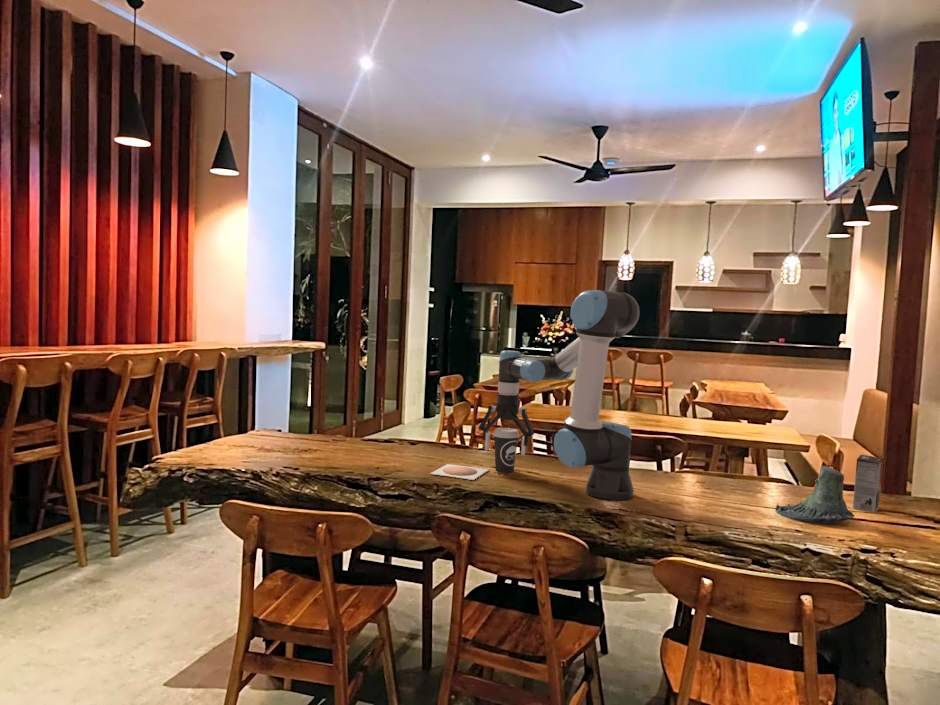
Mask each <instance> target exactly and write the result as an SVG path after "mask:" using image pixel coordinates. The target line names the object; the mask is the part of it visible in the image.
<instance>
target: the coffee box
mask: <svg viewBox="0 0 940 705" xmlns="http://www.w3.org/2000/svg"><path fill="white" fill-rule="evenodd" d="M883 463H884V458H883V457H877V456H872V455H865V454H860V455H859V456H858V457H857V458H856V464H855V465H856V466H855V467H856V468H855V479H854V488H853V490H854V491H853V500H852V510H857V511H860V512H861V511H862V512H867V513H872V514H876V513H877V511H878V509H879V508H880V506H881V505H880V504H881V492H882V491H881V490H882V476H883V467H884V466H883Z"/></svg>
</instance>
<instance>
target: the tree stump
mask: <svg viewBox="0 0 940 705" xmlns="http://www.w3.org/2000/svg"><path fill="white" fill-rule="evenodd" d="M814 481H815V483H816V484H815V486H814V489H813V492H812V493H810V494H808V495H807V496H806V498H805V499H803V500H802V501H801V502H798V503H796V504H787V505H779V504H778V503H777V504H776V505H775V512H776V514H778V515H780V516H782V517H784V518H787V519H790V520H793V521H797V522H800V523H801V522H803V523H810V524H818V525H819V524H820V525H838V524H839V523H841V522H844V521H847V520H851V519H852V518H854V517H855V514H854V512H852V511H850V510H848V506H847V503H846V501H845V499H844V495H843V493H844V485H845V484H844V481H845V474H843V473H842V472H841V471H839V470H837V469H835V468H832V467H829V466H826V465H821V467H820V470H819V476H818V478H816V479H815V480H814Z"/></svg>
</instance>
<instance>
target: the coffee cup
mask: <svg viewBox="0 0 940 705" xmlns="http://www.w3.org/2000/svg"><path fill="white" fill-rule="evenodd" d="M492 436H493V439H494V440H493V441H494V464H495V466H494V467H495V472H496V471H497V473H499V472H502V473H501V474H513V473H514V471H515V464H516V456H517V447H518V442H519V438H520V433H519V431H518V430H517V429H516V428H509V427H499V428H495V430H494V432H493V434H492Z"/></svg>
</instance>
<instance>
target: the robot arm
mask: <svg viewBox="0 0 940 705" xmlns="http://www.w3.org/2000/svg"><path fill="white" fill-rule="evenodd" d="M569 315H570V320H572V321H571V322H572V325H573V326H574V327H575V328H576V331H575V333H576V335H577V336H578V337H577V338H576V339H575V340H573V341H572V342H570V343H569V344H568V345H567V346H566V347H565V348H563V349H562V350H560V352H558V353H557V354H556V355H555V356H553V357H552V358H524V357H522V353H521V352H520V351H518V350H502V351H500V354H499V360H498V382H497V384H498V385H497V392H498V394H497V401H496V403H497V404H496V406H495V405H493V404H490V405H488V407H487V412H486V414H485V415H484V417H483V419H482V420H481V422H480V424H479V426H478V430H479V431H482V432H483V435H482V440H483V441H484V442H485V444H484V451H488V450H490V441H491V440H490V439H491V431H489V430H491V428H492V427H493V426H494V425H495V424H496V423H497V421H499V420H500V419H501V420H507V421H511V420H512V421H513V423H515V425H516V426H517V428H518V429H519V431H520V432H521V433H522V435H523V436H522V437H521V450H520V456H524V455H526V447H527V446H529V440H530V439H529V438H530V437H532V436H534V435H535V432H534V431H535V430H534V429H533V427H532V424H531V421H530V419H529V417H528V413H527V410H528V409H527V408H519V398H520V397H519V395H518V394H519V392H520V381H521V380H522V381H526V382H529V383H532V382H533V383H537V382H540V381H563V380H569V379H570V378H571V377H572V374H573V373H574V369H575V368H576V370H575V379H574V386H573V393H572V394H573V395H572V399H571V407H570V415H569V416H568V417H566V418H565V419H564V425H563V428H561V429H559V430H558V431H557V433H555V435H554V439H553V448H554V452H555V454H556V455H557V458H558V459H559V461H560V462H561V463H562V464H563V465H565V467H568V468H575V467H577V468H583V467H587V466H591V471H590V473H589V476H588V478H587V480H586V483H585V491H586V492H585V493H586V494H587V493H588V494H589V496H590V495H592V496H591V497H593V496H595V497H594V498H596V497H598V498H597V499H600V498H603V499H602V500H606V499H614V500H613V501H626V500H625V499H628V500H631V499H633V498H634V492H635V491H634V486H633V482H632V477H631V475H630V464H631V451H632V450H631V449H632V440H633V439H632V429H631V428H630V427H629V426H628V425H626V424H620V423H617V422H610V421H602V420H600V419H599V418H600V411H601V404H602V396H603V389H604V388H603V387H604V382H605V375H606V367H607V362H608V352H609V347H610V343H611V342H612V341H613V340H614V339H615V338H616V339H620V338H622V337H623V336H625V335H626V334H627V333H629V332H630V331H632V329H634V327H635V326H636V324H637V323H638V321H639V319H640V306H639V304H638V302H637V299H635V298H634V297H633V296H632V295H631V294H628V293H626V292H622V291H609V290H600V289H594V290H593V289H592V290H591V289H588V290H584V291H583V292H580V294H579V295H578V296H576V297H575V299H574V300H573V302H572V304H571V307H570V314H569ZM494 411H495V412H496V415H495V417H494V418H493V419H492V420H491V421H490V422H489V423H488V424H487V422H488V421H489V419H490V417H491V416H492V414H493V412H494ZM518 414H519V415H521V416H522V417H521V418H522V420H523V422H522V421H521V420H520V418H519V417H518ZM523 423H524V424H523ZM524 425H525V426H524ZM588 494H587V495H588ZM632 497H633V498H632ZM630 498H631V499H630Z"/></svg>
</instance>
